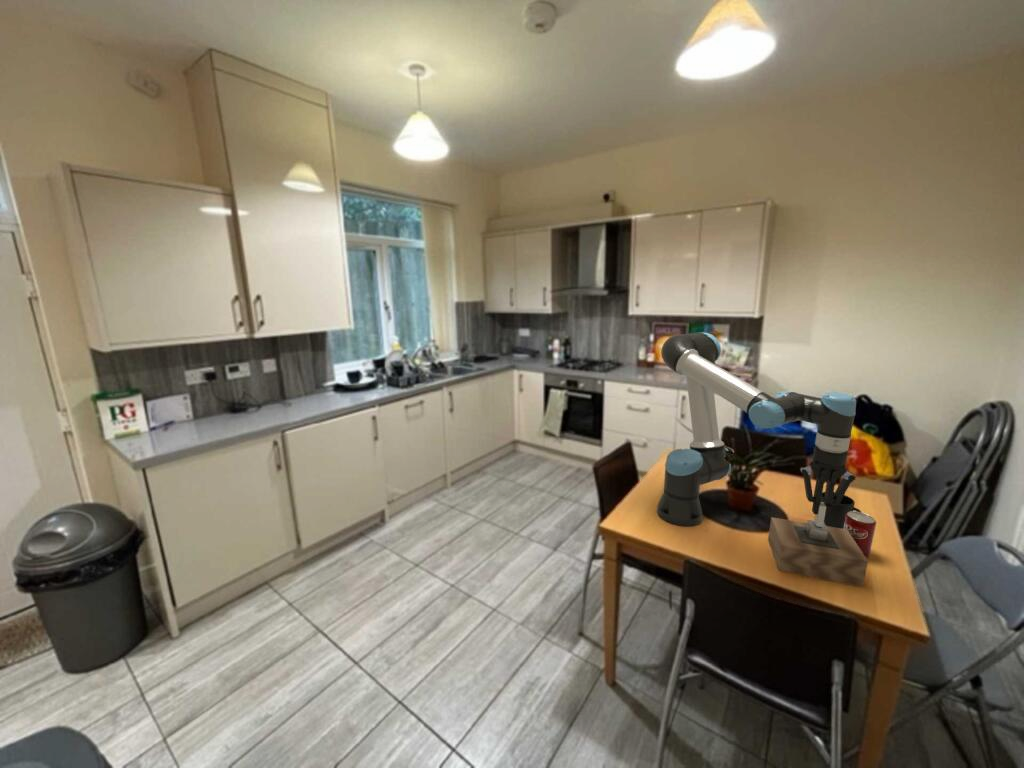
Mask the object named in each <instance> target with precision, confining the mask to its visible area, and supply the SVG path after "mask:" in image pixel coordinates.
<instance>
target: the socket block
mask: <svg viewBox="0 0 1024 768" xmlns="http://www.w3.org/2000/svg"><path fill="white" fill-rule="evenodd" d="M826 527H827V529H828V533H827V538H826V542H821V541H815V540H809V539H808V538H807V536H806V528H807V522H803V521H797V520H790V519H786V518H779V517H772V516H771V518H770V523H769V530H768V538H767V541H768V544H769V546H770V550H771V552H772V556H773V558H774V561H775V564H776V567H777V570H778V571H782V572H783V571H784V572H788V573H793V574H798V575H803V576H807V577H812V578H818V579H824V580H826V581H831V582H832V581H833V582H839V583H842V584H843V583H844V584H847V585H852V586H853V585H854V586H858V587H864V586H863V585H864V583H865V577H866V572H867V569H868V568H867V567H868V563H869V560H868V559H867V557H865V556H864V554H863V553H862V551H861V550H860V548H859V547H858V545H857V544H856V542H855V541H854V539H853V538H852V536H851V535H850V533H849V532H848V530H847V529H841V528H835V527H830V526H827V525H826Z"/></svg>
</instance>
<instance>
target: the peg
mask: <svg viewBox="0 0 1024 768" xmlns="http://www.w3.org/2000/svg"><path fill="white" fill-rule="evenodd" d="M806 523H807V528H806V536H807V538H808V539H809V540H815V541H821V542H826V538H827V533H828V529H827V527H826V526H827V525H825V523H823V527H819V526H816V524H815V522H814V520H810V519H807V521H806Z"/></svg>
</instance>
